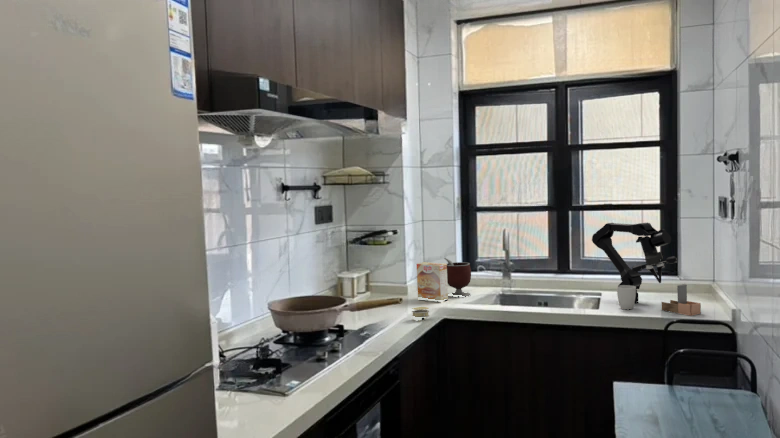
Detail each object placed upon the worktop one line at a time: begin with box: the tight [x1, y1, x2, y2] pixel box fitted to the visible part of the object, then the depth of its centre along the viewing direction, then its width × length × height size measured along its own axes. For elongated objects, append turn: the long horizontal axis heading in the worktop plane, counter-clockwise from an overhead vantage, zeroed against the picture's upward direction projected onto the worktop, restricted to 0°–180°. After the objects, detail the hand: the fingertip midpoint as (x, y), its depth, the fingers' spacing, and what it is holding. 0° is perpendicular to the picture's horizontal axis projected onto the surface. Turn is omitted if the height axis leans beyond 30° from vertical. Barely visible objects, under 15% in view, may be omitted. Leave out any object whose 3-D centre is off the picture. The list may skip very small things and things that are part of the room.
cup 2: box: [677, 300, 702, 317], centre depth 249 cm, size 6×6×4 cm
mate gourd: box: [443, 257, 472, 297], centre depth 312 cm, size 16×14×20 cm
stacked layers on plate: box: [411, 306, 430, 318], centre depth 261 cm, size 10×9×6 cm
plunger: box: [676, 283, 688, 304], centre depth 251 cm, size 1×5×9 cm, turn 119°
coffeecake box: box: [416, 261, 449, 300], centre depth 302 cm, size 15×7×20 cm, turn 49°
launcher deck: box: [661, 299, 679, 314], centre depth 255 cm, size 8×6×4 cm
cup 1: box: [616, 285, 637, 311], centre depth 263 cm, size 8×8×10 cm
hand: (660, 282), depth 260 cm, fingers closed
